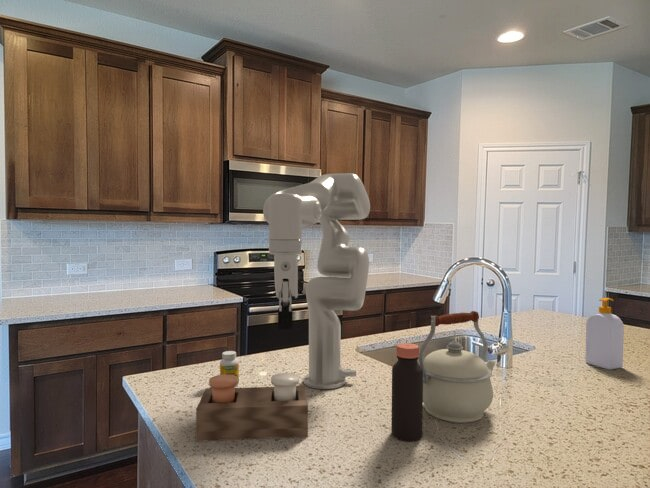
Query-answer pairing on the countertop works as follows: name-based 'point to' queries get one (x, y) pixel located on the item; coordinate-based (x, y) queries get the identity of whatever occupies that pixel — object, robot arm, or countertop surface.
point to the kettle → (456, 376)
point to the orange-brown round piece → (223, 388)
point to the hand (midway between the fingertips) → (285, 325)
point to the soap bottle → (604, 338)
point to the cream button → (285, 386)
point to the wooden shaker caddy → (252, 416)
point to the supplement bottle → (229, 364)
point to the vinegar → (407, 394)
